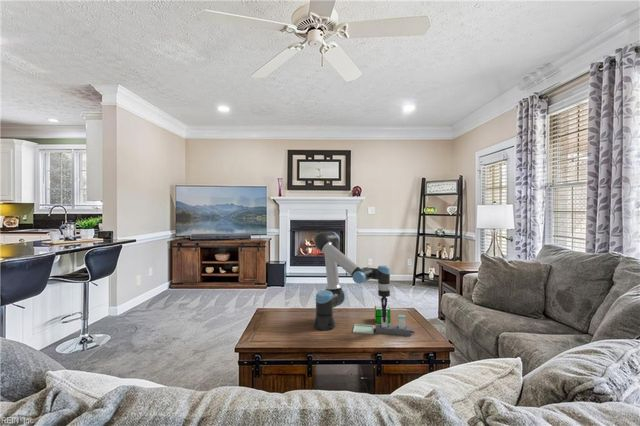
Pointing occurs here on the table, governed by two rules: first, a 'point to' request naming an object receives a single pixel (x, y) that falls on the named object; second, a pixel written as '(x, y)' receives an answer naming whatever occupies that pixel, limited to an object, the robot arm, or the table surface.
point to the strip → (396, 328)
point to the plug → (386, 319)
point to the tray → (363, 329)
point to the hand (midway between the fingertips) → (384, 325)
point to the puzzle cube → (378, 313)
